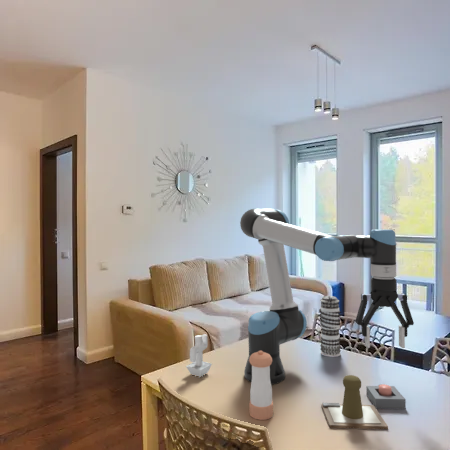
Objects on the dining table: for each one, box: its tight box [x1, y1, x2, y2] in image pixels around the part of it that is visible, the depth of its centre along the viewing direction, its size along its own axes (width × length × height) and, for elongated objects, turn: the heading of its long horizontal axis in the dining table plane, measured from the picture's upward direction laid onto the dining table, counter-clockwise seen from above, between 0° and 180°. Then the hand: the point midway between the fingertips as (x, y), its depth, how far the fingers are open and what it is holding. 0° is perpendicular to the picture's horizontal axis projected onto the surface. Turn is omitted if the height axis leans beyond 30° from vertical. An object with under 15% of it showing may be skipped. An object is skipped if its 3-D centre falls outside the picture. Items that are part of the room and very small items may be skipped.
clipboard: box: [320, 402, 389, 430], centre depth 108 cm, size 16×12×1 cm
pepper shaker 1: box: [248, 351, 274, 421], centre depth 111 cm, size 7×7×19 cm
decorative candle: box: [318, 295, 342, 358], centre depth 161 cm, size 9×9×25 cm
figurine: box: [185, 333, 213, 378], centre depth 141 cm, size 7×9×15 cm
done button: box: [378, 383, 392, 396], centre depth 117 cm, size 4×4×2 cm
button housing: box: [365, 385, 407, 410], centre depth 117 cm, size 9×9×3 cm
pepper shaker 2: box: [342, 374, 363, 419], centre depth 108 cm, size 6×6×11 cm
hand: (384, 346), depth 117 cm, fingers open, 10 cm apart
